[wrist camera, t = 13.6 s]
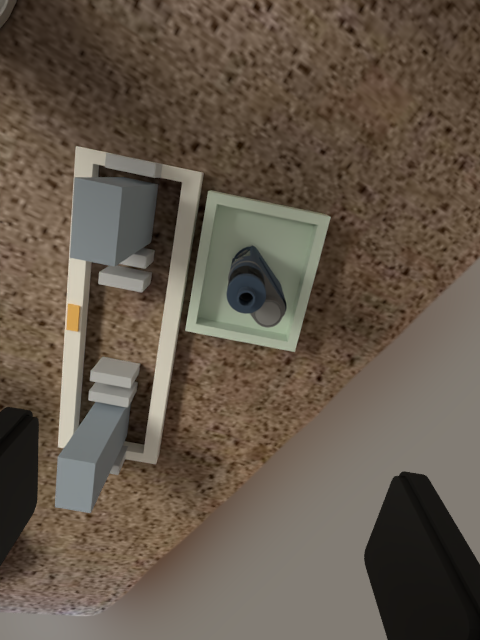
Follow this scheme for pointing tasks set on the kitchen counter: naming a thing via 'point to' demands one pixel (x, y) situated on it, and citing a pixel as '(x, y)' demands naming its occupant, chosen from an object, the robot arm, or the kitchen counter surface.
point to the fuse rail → (108, 374)
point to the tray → (277, 250)
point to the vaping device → (255, 288)
